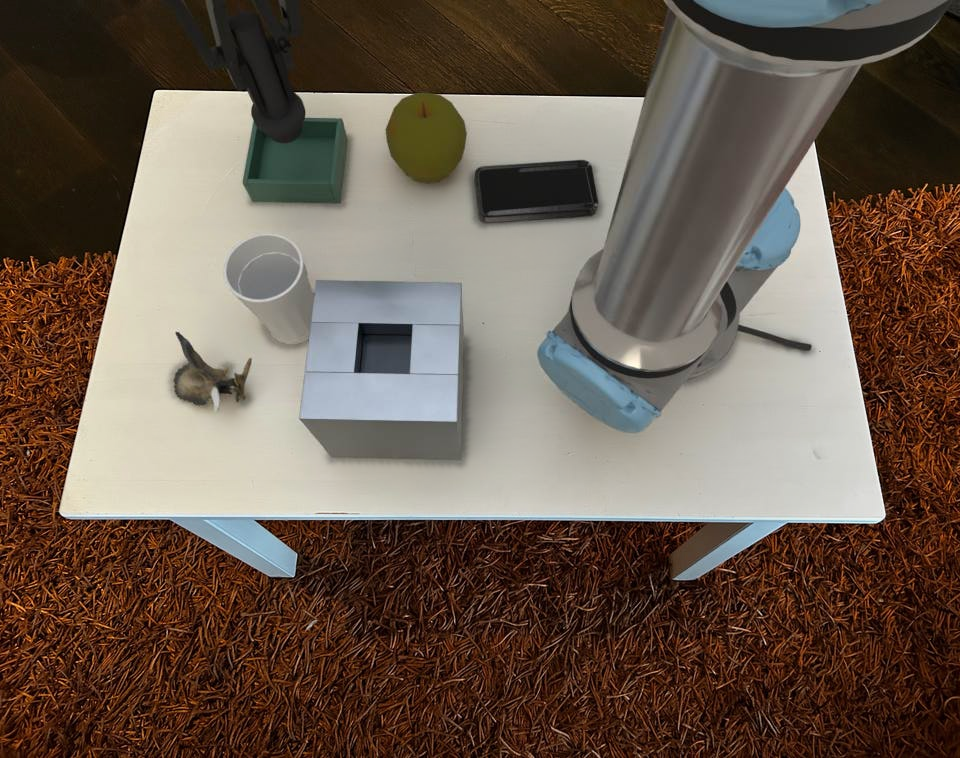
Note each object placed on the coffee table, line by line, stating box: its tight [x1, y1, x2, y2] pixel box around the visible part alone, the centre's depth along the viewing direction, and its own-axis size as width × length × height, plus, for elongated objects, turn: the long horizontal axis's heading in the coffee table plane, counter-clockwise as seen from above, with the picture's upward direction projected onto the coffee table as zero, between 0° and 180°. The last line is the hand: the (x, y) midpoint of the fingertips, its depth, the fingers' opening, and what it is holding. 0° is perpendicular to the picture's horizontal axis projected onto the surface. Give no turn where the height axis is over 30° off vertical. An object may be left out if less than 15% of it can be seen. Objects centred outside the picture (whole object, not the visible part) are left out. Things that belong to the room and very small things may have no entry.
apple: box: [385, 91, 468, 184], centre depth 79 cm, size 10×10×11 cm
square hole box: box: [298, 279, 465, 461], centre depth 66 cm, size 14×14×14 cm
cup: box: [222, 232, 315, 345], centre depth 71 cm, size 8×8×12 cm
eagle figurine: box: [172, 331, 253, 413], centre depth 71 cm, size 8×7×9 cm
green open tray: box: [241, 117, 348, 204], centre depth 82 cm, size 11×10×4 cm
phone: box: [474, 159, 599, 223], centre depth 82 cm, size 8×1×15 cm
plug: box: [229, 10, 307, 143], centre depth 71 cm, size 6×6×15 cm
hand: (273, 98), depth 73 cm, fingers closed on plug, 3 cm apart
